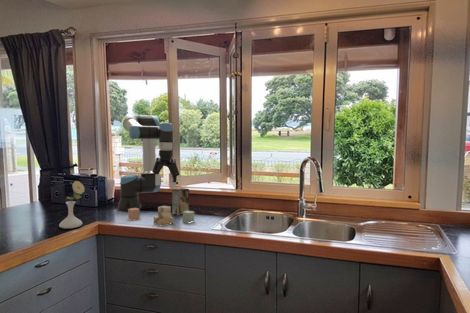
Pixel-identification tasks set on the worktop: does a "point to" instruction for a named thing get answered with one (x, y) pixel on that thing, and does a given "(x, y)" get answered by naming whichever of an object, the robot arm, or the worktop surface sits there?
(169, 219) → the oak base
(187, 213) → the sage block
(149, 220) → the worktop surface
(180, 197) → the coffee box
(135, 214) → the terracotta block
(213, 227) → the worktop surface
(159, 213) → the maple block
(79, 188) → the flower in vase
